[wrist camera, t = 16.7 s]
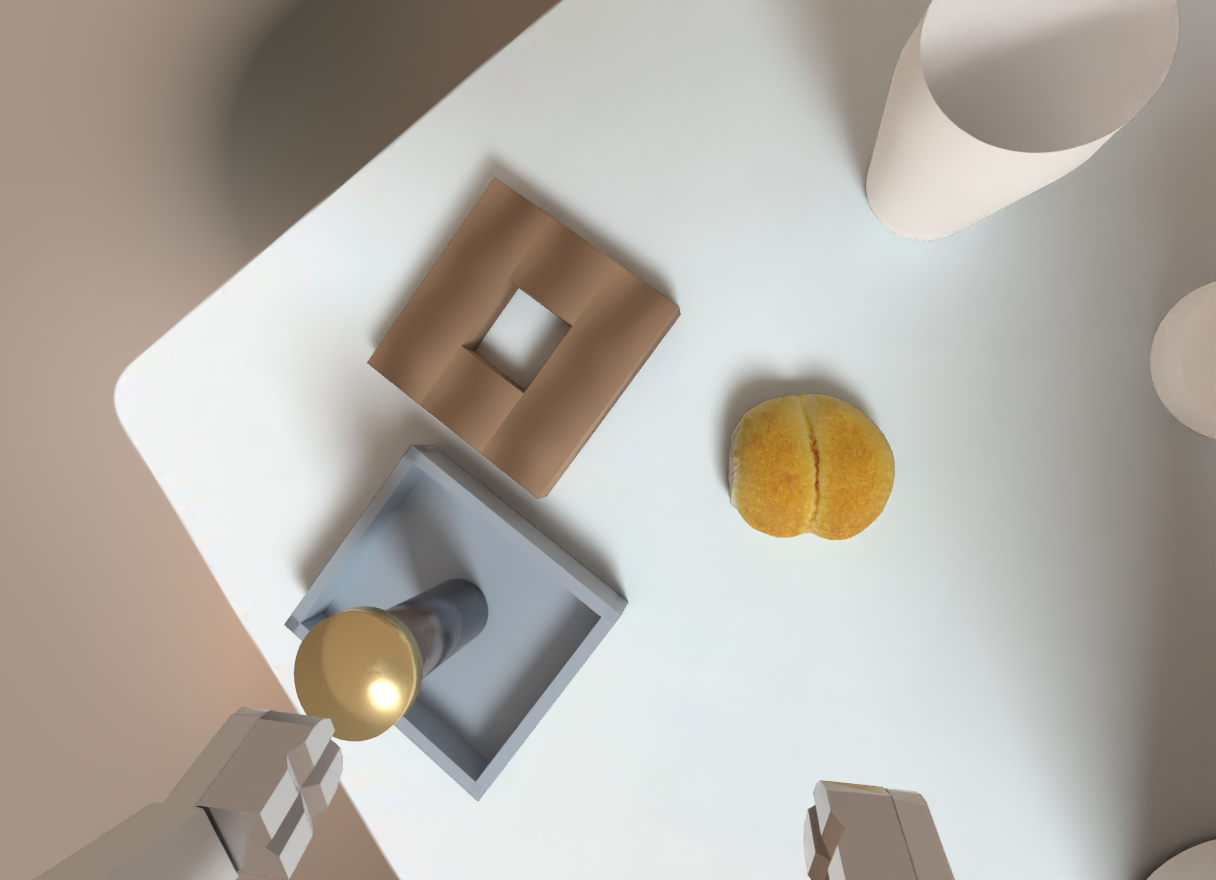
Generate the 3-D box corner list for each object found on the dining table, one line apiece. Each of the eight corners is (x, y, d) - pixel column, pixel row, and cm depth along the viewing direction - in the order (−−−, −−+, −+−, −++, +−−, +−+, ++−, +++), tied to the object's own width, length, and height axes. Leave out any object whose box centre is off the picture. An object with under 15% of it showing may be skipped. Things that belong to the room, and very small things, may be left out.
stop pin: (517, 604, 36) (433, 670, 25) (466, 673, 37) (361, 768, 26) (450, 547, 37) (340, 587, 26) (400, 616, 38) (271, 683, 26)
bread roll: (885, 539, 34) (908, 550, 30) (726, 531, 35) (729, 541, 31) (887, 395, 34) (911, 388, 30) (729, 394, 35) (732, 387, 31)
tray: (628, 602, 36) (621, 615, 33) (496, 773, 37) (478, 801, 34) (434, 445, 38) (411, 444, 35) (316, 611, 39) (284, 624, 36)
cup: (1002, 91, 33) (1167, -112, 21) (1022, 248, 33) (1202, 132, 21) (835, 122, 34) (901, -50, 23) (853, 273, 34) (929, 177, 22)
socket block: (680, 314, 36) (679, 306, 34) (546, 496, 37) (537, 498, 35) (505, 191, 38) (494, 177, 36) (384, 367, 39) (366, 362, 37)
